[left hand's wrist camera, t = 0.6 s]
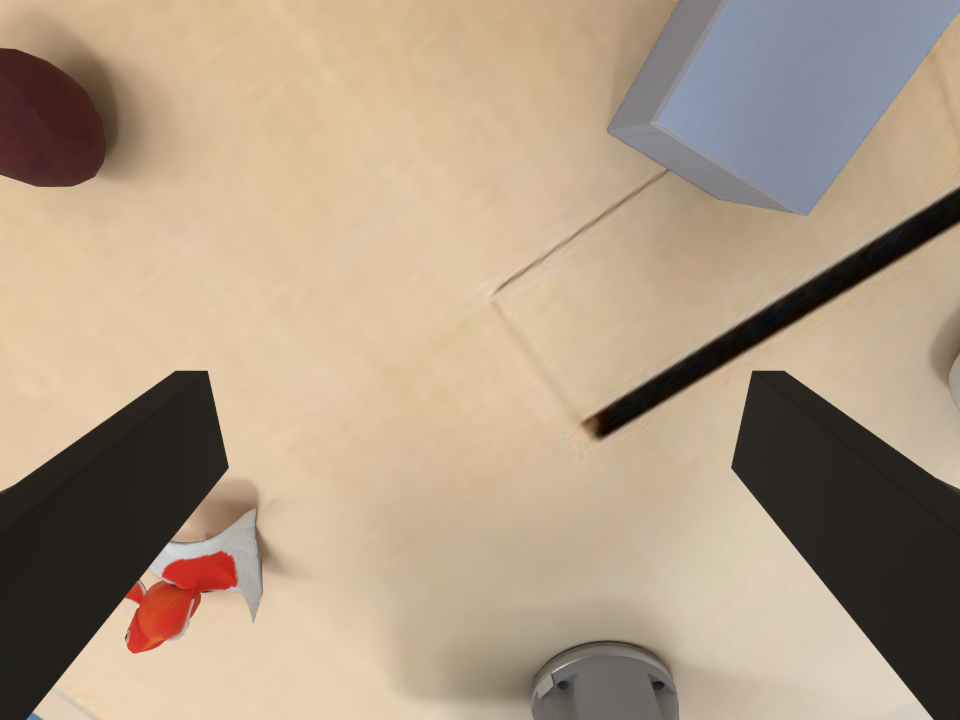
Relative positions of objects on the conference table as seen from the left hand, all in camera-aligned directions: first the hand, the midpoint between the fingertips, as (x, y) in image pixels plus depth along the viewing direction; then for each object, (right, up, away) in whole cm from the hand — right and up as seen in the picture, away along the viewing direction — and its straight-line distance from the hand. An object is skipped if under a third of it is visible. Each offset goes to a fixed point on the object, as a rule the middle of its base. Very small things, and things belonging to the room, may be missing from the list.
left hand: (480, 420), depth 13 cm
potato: (-27, +17, +22) cm, 39 cm away
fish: (-25, -16, +35) cm, 46 cm away
